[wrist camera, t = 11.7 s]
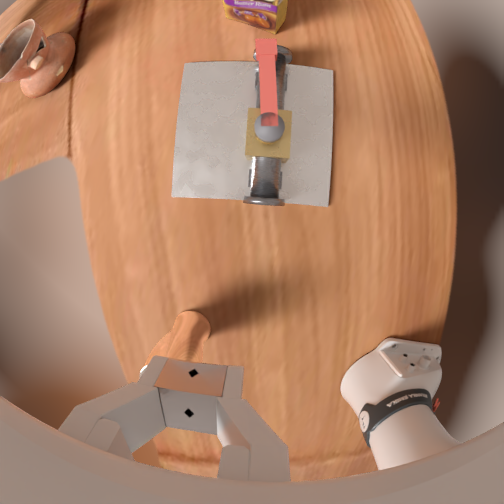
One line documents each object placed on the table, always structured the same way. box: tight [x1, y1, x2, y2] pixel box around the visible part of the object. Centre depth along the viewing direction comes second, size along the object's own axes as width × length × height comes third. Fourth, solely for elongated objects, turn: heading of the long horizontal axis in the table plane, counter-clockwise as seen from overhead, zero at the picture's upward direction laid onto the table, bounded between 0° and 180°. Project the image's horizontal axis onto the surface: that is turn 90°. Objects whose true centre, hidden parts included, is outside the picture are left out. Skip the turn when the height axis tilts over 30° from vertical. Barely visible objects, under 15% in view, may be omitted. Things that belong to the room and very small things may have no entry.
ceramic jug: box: [0, 19, 75, 98], centre depth 25 cm, size 18×14×14 cm
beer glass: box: [140, 311, 211, 377], centre depth 35 cm, size 7×7×15 cm
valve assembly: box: [172, 45, 333, 207], centre depth 31 cm, size 22×21×8 cm
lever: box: [254, 39, 285, 143], centre depth 26 cm, size 13×3×2 cm, turn 1°
